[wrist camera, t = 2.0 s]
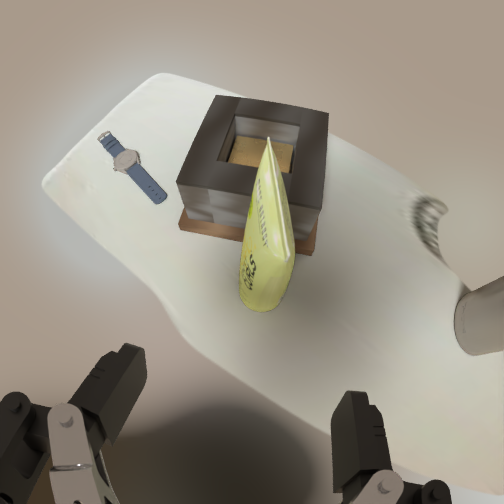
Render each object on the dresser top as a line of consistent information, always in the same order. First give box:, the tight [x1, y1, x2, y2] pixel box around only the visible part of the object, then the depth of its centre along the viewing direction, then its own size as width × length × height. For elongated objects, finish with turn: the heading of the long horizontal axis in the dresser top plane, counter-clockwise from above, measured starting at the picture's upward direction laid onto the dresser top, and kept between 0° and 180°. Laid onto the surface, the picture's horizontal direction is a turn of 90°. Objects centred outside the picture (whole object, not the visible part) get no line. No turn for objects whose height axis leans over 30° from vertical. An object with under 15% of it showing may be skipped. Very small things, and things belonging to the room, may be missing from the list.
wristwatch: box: [97, 131, 167, 204], centre depth 39 cm, size 4×20×1 cm, turn 44°
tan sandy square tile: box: [228, 136, 293, 173], centre depth 33 cm, size 7×7×1 cm
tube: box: [239, 137, 295, 312], centre depth 23 cm, size 6×5×20 cm
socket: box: [176, 95, 329, 256], centre depth 33 cm, size 16×16×9 cm
